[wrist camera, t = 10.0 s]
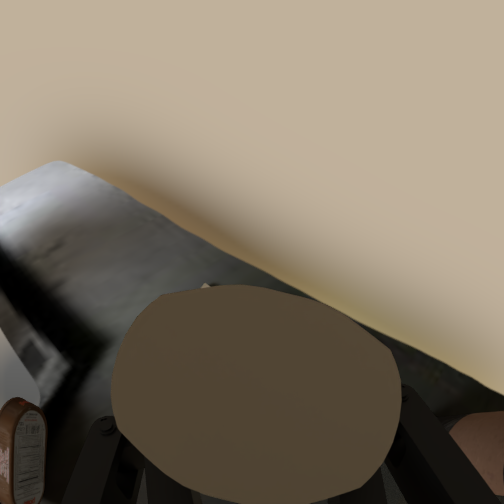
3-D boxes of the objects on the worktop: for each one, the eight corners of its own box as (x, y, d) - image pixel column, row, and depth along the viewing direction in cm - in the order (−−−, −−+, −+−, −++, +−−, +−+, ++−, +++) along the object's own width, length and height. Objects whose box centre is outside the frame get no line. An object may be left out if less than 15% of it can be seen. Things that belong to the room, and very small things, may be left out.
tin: (36, 399, 29) (-7, 392, 22) (55, 406, 29) (13, 402, 22) (30, 499, 23) (-9, 510, 15) (49, 509, 23) (12, 523, 15)
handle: (287, 444, 18) (372, 517, 5) (192, 420, 19) (89, 449, 5) (304, 376, 20) (413, 321, 7) (211, 354, 21) (152, 258, 7)
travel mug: (406, 485, 26) (524, 521, 8) (393, 431, 29) (519, 437, 11) (456, 456, 27) (578, 460, 9) (444, 405, 30) (572, 382, 12)
